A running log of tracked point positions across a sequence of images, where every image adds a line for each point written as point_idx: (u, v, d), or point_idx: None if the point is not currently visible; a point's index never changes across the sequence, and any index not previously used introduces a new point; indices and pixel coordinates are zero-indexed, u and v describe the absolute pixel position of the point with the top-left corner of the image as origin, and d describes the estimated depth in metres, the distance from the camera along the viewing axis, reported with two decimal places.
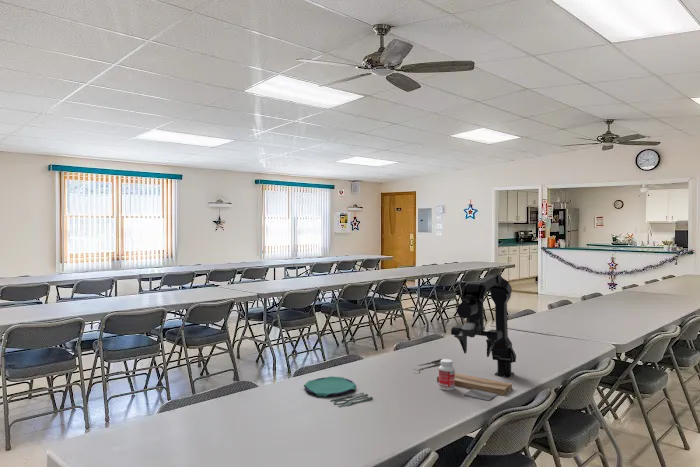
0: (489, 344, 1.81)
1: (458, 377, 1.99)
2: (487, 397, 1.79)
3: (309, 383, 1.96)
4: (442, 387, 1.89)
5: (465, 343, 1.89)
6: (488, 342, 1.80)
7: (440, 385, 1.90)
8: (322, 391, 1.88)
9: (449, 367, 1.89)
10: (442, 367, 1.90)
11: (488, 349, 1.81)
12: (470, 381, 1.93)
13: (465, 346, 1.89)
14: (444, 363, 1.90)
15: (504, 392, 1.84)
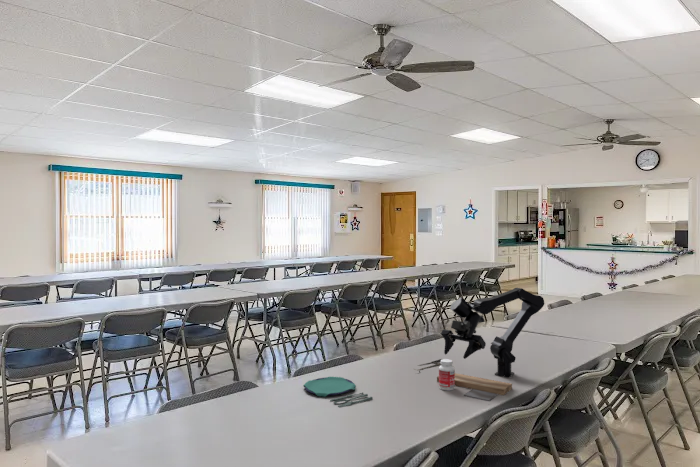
0: (470, 345, 1.93)
1: (458, 377, 1.99)
2: (487, 397, 1.79)
3: (309, 383, 1.96)
4: (442, 387, 1.89)
5: (448, 346, 2.01)
6: (470, 343, 1.93)
7: (440, 385, 1.90)
8: (322, 391, 1.88)
9: (449, 367, 1.89)
10: (442, 367, 1.90)
11: (467, 350, 1.92)
12: (470, 381, 1.93)
13: (448, 348, 2.00)
14: (444, 363, 1.90)
15: (504, 392, 1.84)
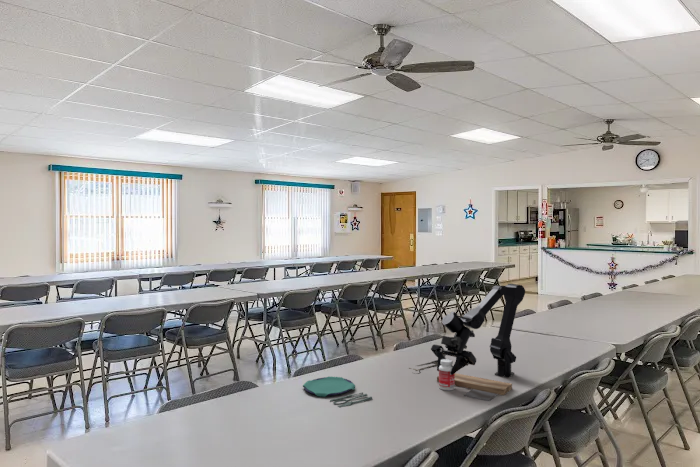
0: (457, 361, 1.89)
1: (458, 377, 1.99)
2: (487, 397, 1.79)
3: (308, 383, 1.96)
4: (442, 387, 1.89)
5: None
6: (457, 358, 1.89)
7: (440, 385, 1.90)
8: (321, 391, 1.88)
9: (449, 367, 1.89)
10: (442, 367, 1.90)
11: (454, 366, 1.89)
12: (470, 381, 1.93)
13: None
14: (444, 363, 1.90)
15: (504, 392, 1.84)
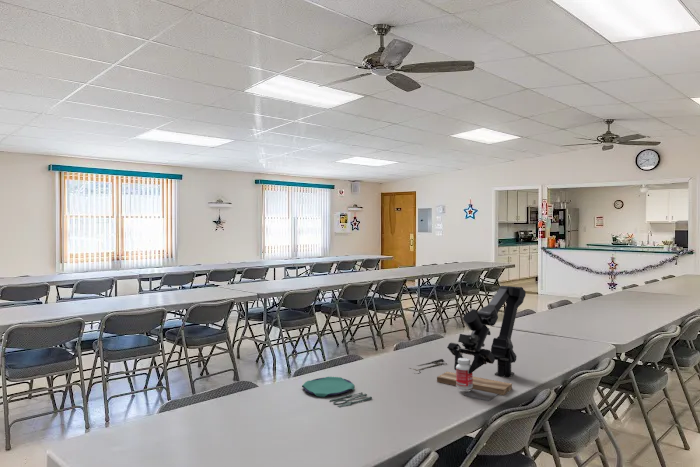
0: (475, 360, 1.84)
1: None
2: (487, 397, 1.79)
3: (307, 383, 1.95)
4: (460, 386, 1.85)
5: None
6: (475, 357, 1.85)
7: (458, 384, 1.86)
8: (321, 391, 1.88)
9: (467, 366, 1.85)
10: (460, 366, 1.86)
11: (472, 365, 1.84)
12: None
13: None
14: (462, 362, 1.85)
15: (504, 392, 1.84)
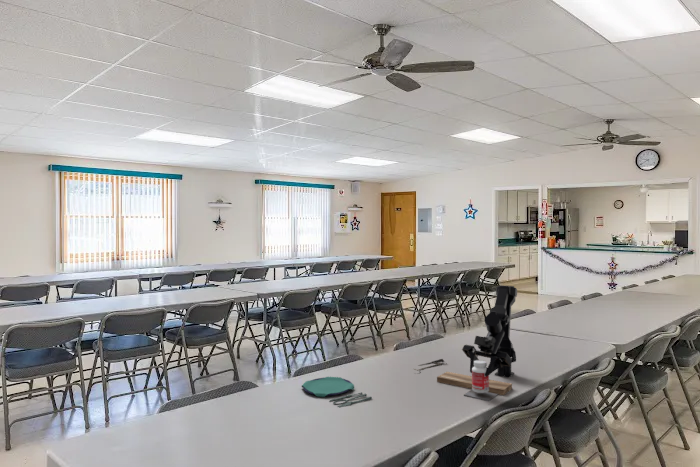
0: (492, 362, 1.80)
1: (458, 377, 1.99)
2: (487, 397, 1.79)
3: (307, 383, 1.95)
4: (476, 389, 1.81)
5: None
6: (492, 359, 1.81)
7: (474, 387, 1.82)
8: (320, 391, 1.88)
9: (483, 368, 1.81)
10: (476, 368, 1.82)
11: (489, 367, 1.80)
12: (470, 381, 1.93)
13: (473, 366, 1.86)
14: (478, 364, 1.81)
15: (504, 392, 1.84)
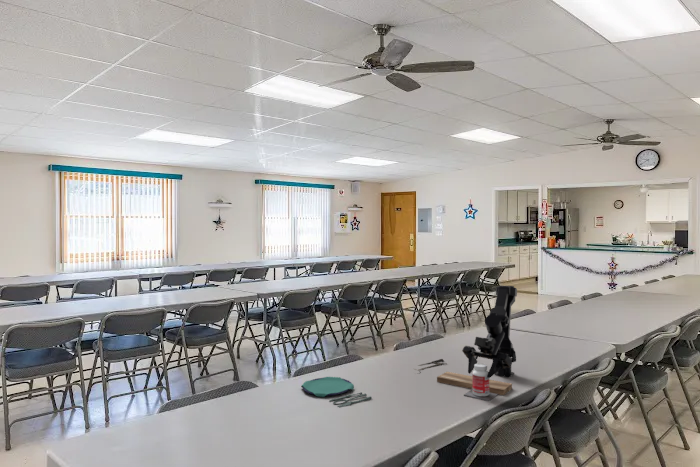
0: (494, 364, 1.80)
1: (458, 377, 1.99)
2: (487, 397, 1.79)
3: (306, 383, 1.95)
4: (476, 393, 1.81)
5: (472, 364, 1.87)
6: (494, 361, 1.80)
7: (474, 391, 1.82)
8: (320, 391, 1.88)
9: (484, 372, 1.81)
10: (476, 372, 1.81)
11: (491, 369, 1.79)
12: (470, 381, 1.93)
13: (471, 367, 1.86)
14: (478, 368, 1.81)
15: (504, 392, 1.84)
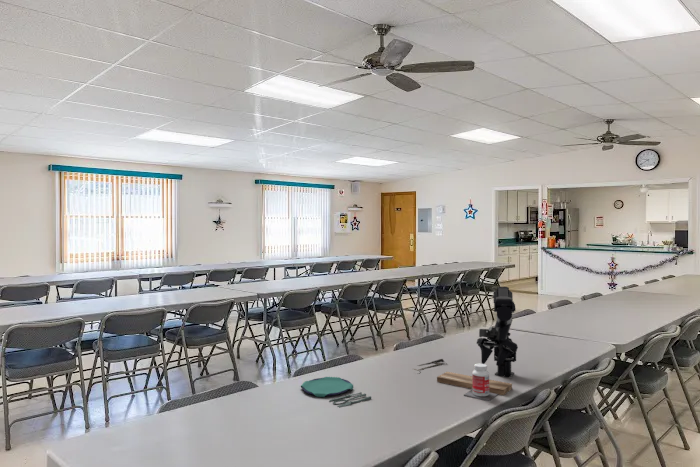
0: (500, 351, 1.86)
1: (458, 377, 1.99)
2: (487, 397, 1.79)
3: (306, 384, 1.95)
4: (476, 393, 1.81)
5: (485, 355, 1.95)
6: (499, 348, 1.86)
7: (474, 391, 1.82)
8: (320, 391, 1.88)
9: (484, 372, 1.81)
10: (476, 372, 1.81)
11: (498, 357, 1.86)
12: (470, 381, 1.93)
13: (485, 357, 1.95)
14: (478, 368, 1.81)
15: (504, 392, 1.84)
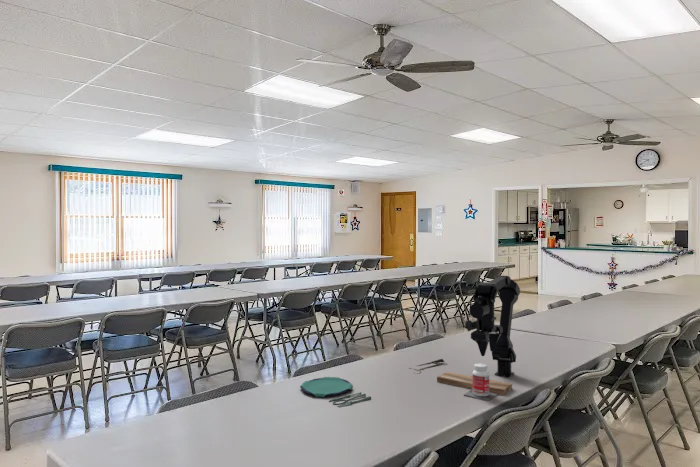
0: None
1: (458, 377, 1.99)
2: (487, 397, 1.79)
3: (305, 384, 1.95)
4: (476, 393, 1.81)
5: (492, 341, 1.97)
6: None
7: (474, 391, 1.82)
8: (319, 391, 1.88)
9: (484, 372, 1.81)
10: (476, 372, 1.81)
11: None
12: (470, 381, 1.93)
13: (492, 344, 1.97)
14: (478, 368, 1.81)
15: (504, 392, 1.84)
